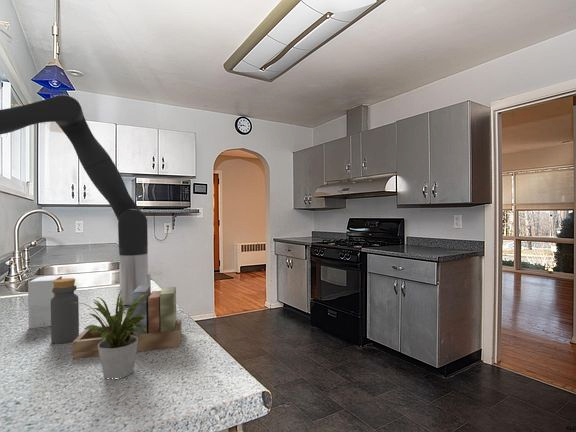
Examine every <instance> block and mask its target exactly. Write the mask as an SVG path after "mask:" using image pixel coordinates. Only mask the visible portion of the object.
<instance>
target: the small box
mask: <svg viewBox="0 0 576 432" xmlns="http://www.w3.org/2000/svg"><path fill="white" fill-rule="evenodd" d="M59 279H63V276H62V275H55V276H54V275H53V276H38V277H36V278H34V279H32V280H30V281H28V282H27V295H28V296H27V300H28V301H27V303H28V304H27V305H28V307H27V308H28V309H27V310H28V311H27V312H28V329H36V328H46V327H47V328H48V327H51V299H52V298H53V297H54V296H55V293H53V292H52V289H53V288H54V284H53V281H55V280H59Z"/></svg>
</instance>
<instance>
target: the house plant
mask: <svg viewBox="0 0 576 432" xmlns="http://www.w3.org/2000/svg"><path fill="white" fill-rule="evenodd" d="M121 291H122V290H121ZM121 291H120V290H119V293H118V295H117V299H116V305H115V314H113V315H111V314H110V311H109V308H108V305H107V302H106V301H105V300H104V299H103V298H101V297H98V296H96V298H98V299H100V300H101V301H102V303H103V305H102V304H101V302H99V301H98V300H97V299H94V298H92V300H93V304H95V305H96V306H97V307H92V306H90V305H89V304H86V303H83V302H80V304H81V305H84V306H88V307H89V308H88V309H87V310H89V309H91V310H93V312H95V313H96V314H97V315H96V314H94V313H89V315H90V316H92V317H93V318H95V319H96V320H97V322H98V323H99V324H100V326H102V327H103V328H104V330H105V331H104V330H103V329H102V328H100V327H98V326H99V325H96V324H89V325H87V326H86V327H85V328H84V330H85V329H96V330H91V331H89V332H91V333H93V332H92V331H100V332H97V333H99V334H101V337H102V341H101V342H100V343H99V344H98V350H99V355H100V356H99V358H100V364H101V368H102V373H103V378H104V377H105V378H109V379H112V378H113V379H115V378H120V377H124V376H127V375H129V374H130V373H132V372H133V373H134V369H135V363H136V355H137V352H136V350H137V344H138V338H137V337H136V336H131V332H133V333H135V334H137V331H138V330H137V329H133V328H134V327H140V328H142V329H144V330H146V332H147V327H146V326H145V325H142V324H140V325H136V324H137V323H138V322H139V321H141V320H143V319H144V318H145V317H142V316H145V315H141V316H137V317H134V318H131V316H132V315H133V313H134V312H135V310H136V309H137V308H138V307H139V306H140V305H139V306H138V304H139V303H140V300H141V298H142V297H143V296H145V295H146V294H147V293H146V294H143V295H142V296H140V297H139V298H138V299H137V300H136V301H135V302H134V303H133V304H132V305H130V307H129V308H127V307H126V308H124V306H125V305H124V304H123V300H122V298H121V297H120V294H121ZM132 295H133V294H132ZM132 295H131V296H132ZM131 296H130V297H131ZM130 297H129V298H130ZM129 298H128V299H129ZM128 299H127V300H128ZM127 300H126V301H127ZM126 301H125V302H126ZM148 301H149V300H148ZM125 302H124V303H125ZM145 302H146V301H145ZM73 303H77V302H73ZM142 304H143V303H142ZM137 306H138V307H137ZM136 307H137V308H136ZM135 308H136V309H135ZM125 310H127V312H126V311H125ZM98 312H99V313H100V314H102V316H103V317H104V318H105V320H104V319H103V318H102V317H101V316H100V314H99V313H98ZM124 314H125V317H124V319H123V315H124ZM85 315H88V313H86V314H85ZM130 318H131V319H130ZM145 319H146V318H145ZM105 321H106V322H107V323H106V322H105ZM121 324H122V325H121ZM107 325H109V326H110V329H109V327H108V326H107ZM135 325H136V326H135ZM105 326H107V327H108V329H109V330H110V332H108V330H107V328H106V327H105ZM120 327H121V328H120ZM110 334H111V335H110ZM111 336H112V337H111ZM137 336H138V335H137ZM103 339H105V340H103ZM133 373H132V374H133ZM129 376H130V375H129ZM127 377H128V376H127ZM105 378H104V379H105Z"/></svg>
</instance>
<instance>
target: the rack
mask: <svg viewBox="0 0 576 432" xmlns="http://www.w3.org/2000/svg"><path fill="white" fill-rule="evenodd" d="M151 289H152V287H151V288H150V285H145V286H138V287H137V288H136V289H135V290H134V292H133V303H134V302H135V301H136V300H137V299H138V298H139V297H140V296H142V295H143V294H146V293H147V294H146V295H145V296H143V297H142V298H141V300H140V303H139V304H138V306H139V305H140V306H139V307H138V306H137V307H138V308H137V307H136V308H137V309H136V308H135V309H136V310H135V312H134V313H133V315H132V316H131V318H134V317H137V316H141V315H145V316H142V317H145V318H146V319H145V318H144V319H143V320H141V321H139V322H138V323H137V324H136V325H140V324H142V325H145V326H146V327H147V332H146V330H144V329H142V328H140V327H134V328H133V329H137V330H138V331H137V334H135V333H133V332H131V336H136V337H137V338H138V344H137V350H136V353H137V352H143V351H144V352H145V351H155V350H162V349H163V350H164V349H165V350H166V349H173V348H179V347H180V344H179V343H181V338H180V337H181V336H182V318H177V287H176V286H169V287H168V286H167V287H163V288H162V290H153V291H152V290H151ZM148 300H149V301H148ZM145 301H146V302H145ZM142 303H143V304H142ZM131 318H130V319H131ZM121 325H122V323H121ZM136 325H135V326H136ZM97 326H98V327H100V328H102V329H103V330H104V328H103V327H102V325H97ZM107 326H108V327H109V329H110V326H109V324H107V325H105V327H106V328H107V330H108V332H110V330H109V329H108V327H107ZM120 328H121V327H120ZM91 330H96V329H85V328H84V330H83V331H82V332H81V333H79V336H78V337H77V338H76V339H75V340H74V341H71V342H72V344H71V345H72V359H80V358H88V357H89V358H90V357H98V356H99V357H100V355H99V350H98V344H99V343H100V342H101V341H102V337H101V334H99V333H97V332H100V331H92V332H93V333H91V332H89V331H91ZM104 331H105V330H104ZM110 335H111V334H110ZM137 335H138V336H137ZM111 337H112V336H111ZM103 340H105V339H103Z"/></svg>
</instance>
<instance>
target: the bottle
mask: <svg viewBox="0 0 576 432" xmlns="http://www.w3.org/2000/svg"><path fill="white" fill-rule="evenodd" d="M75 282H76V278H62V279H59V280H55V281H53V284H54V288H53V289H52V292H53V293H55V296H54V297H53V298H52V299H51V326H50V336H51V337H50V339H51V343H52V344H54V345H55V344H56V345H59V344H66V343H70V342H73V341H74V340H75V339H76V338H77V337H78V336H79V335H80V312H79V311H80V310H79V309H80V306H79V305H80V302H79V295H77V294H76V293H75V291H76V290H77V285H75V284H76V283H75ZM73 302H77V303H73Z"/></svg>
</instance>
